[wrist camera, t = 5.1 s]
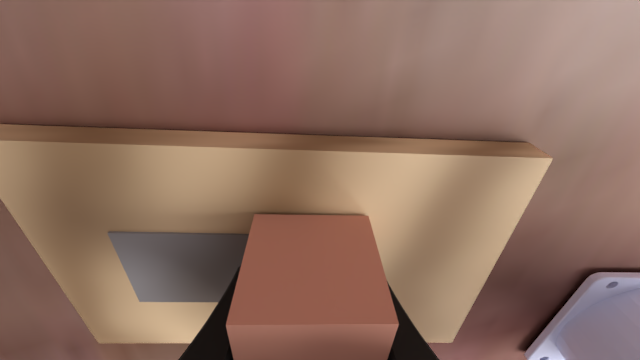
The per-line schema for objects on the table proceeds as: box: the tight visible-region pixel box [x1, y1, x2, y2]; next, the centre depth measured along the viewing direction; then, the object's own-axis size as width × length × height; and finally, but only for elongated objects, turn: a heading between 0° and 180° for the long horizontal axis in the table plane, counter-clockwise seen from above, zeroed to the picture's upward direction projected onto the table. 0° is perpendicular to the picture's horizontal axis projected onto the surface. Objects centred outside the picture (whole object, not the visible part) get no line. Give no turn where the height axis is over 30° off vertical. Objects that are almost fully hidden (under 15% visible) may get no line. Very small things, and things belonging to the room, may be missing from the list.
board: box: [0, 124, 553, 343], centre depth 12 cm, size 18×11×1 cm, turn 87°
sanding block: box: [226, 214, 399, 360], centre depth 10 cm, size 4×6×4 cm, turn 177°
